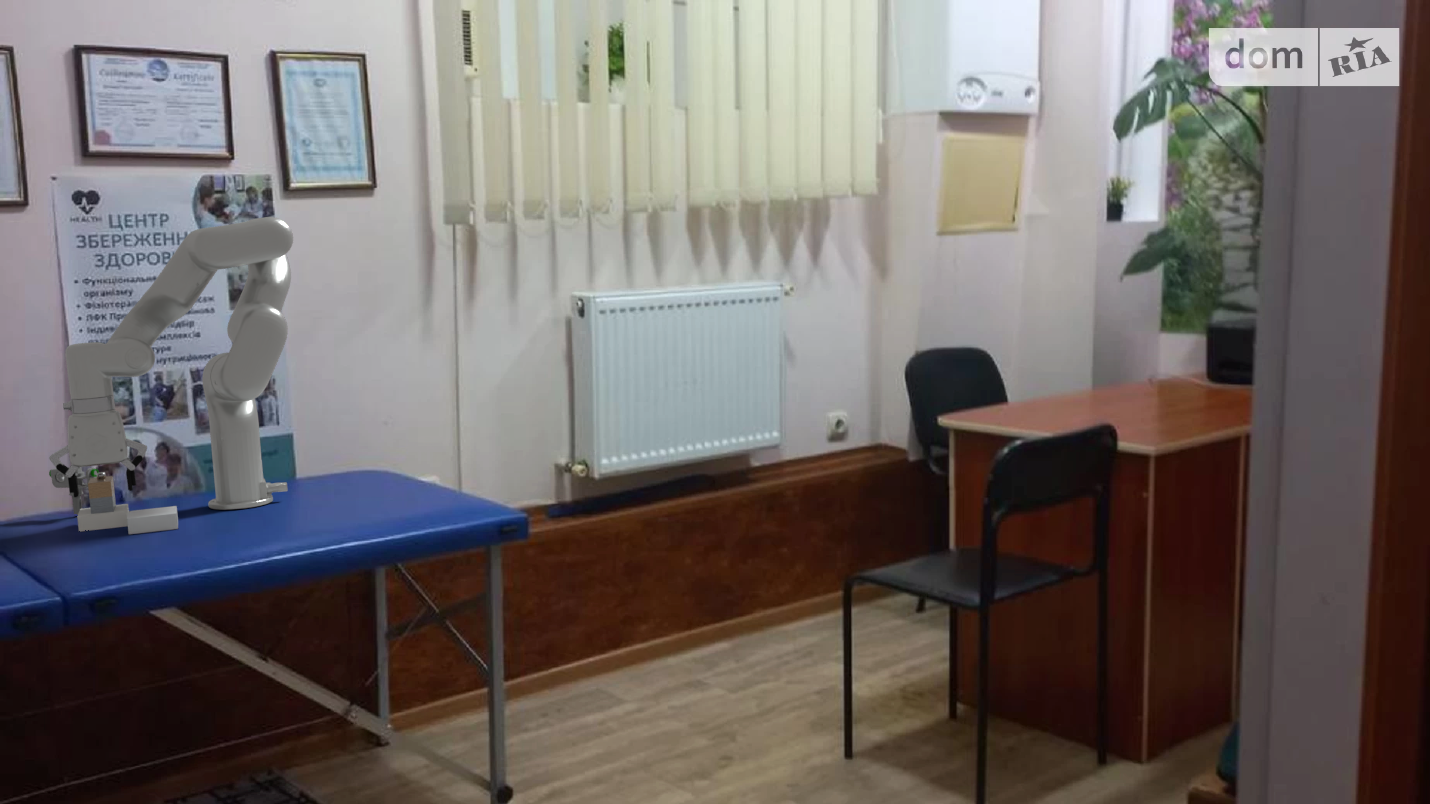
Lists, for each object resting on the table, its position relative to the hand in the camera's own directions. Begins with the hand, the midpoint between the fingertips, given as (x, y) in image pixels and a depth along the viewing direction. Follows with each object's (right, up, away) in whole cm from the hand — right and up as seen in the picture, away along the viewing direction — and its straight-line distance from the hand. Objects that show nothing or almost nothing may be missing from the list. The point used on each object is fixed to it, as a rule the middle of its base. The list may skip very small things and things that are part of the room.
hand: (103, 492), depth 251 cm
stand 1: (0, -6, 0) cm, 6 cm away
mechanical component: (-10, -6, +11) cm, 16 cm away
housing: (0, -3, 0) cm, 3 cm away
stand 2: (+12, -6, -4) cm, 14 cm away
